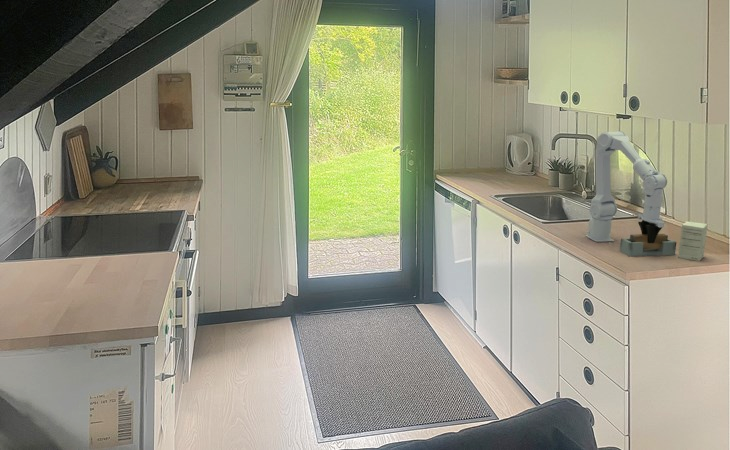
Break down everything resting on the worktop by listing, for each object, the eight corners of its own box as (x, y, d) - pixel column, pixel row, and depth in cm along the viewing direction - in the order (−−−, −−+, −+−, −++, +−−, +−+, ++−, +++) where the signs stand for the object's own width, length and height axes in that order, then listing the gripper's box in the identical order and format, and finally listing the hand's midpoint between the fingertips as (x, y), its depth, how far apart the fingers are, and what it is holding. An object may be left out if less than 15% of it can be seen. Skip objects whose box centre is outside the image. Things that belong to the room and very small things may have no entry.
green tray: (619, 251, 234) (621, 238, 233) (664, 249, 236) (665, 237, 235) (629, 256, 227) (630, 243, 226) (674, 254, 229) (676, 242, 228)
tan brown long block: (629, 247, 232) (630, 234, 231) (661, 246, 233) (663, 233, 232) (633, 249, 229) (634, 236, 228) (666, 248, 230) (667, 235, 229)
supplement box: (682, 253, 231) (686, 220, 228) (704, 256, 227) (708, 223, 224) (677, 257, 226) (681, 224, 223) (699, 261, 221) (704, 227, 218)
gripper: (674, 210, 221) (669, 246, 224) (651, 202, 235) (647, 236, 238) (655, 210, 220) (651, 247, 223) (634, 202, 234) (630, 237, 237)
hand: (648, 241), depth 231 cm, fingers closed on tan brown long block, 3 cm apart
